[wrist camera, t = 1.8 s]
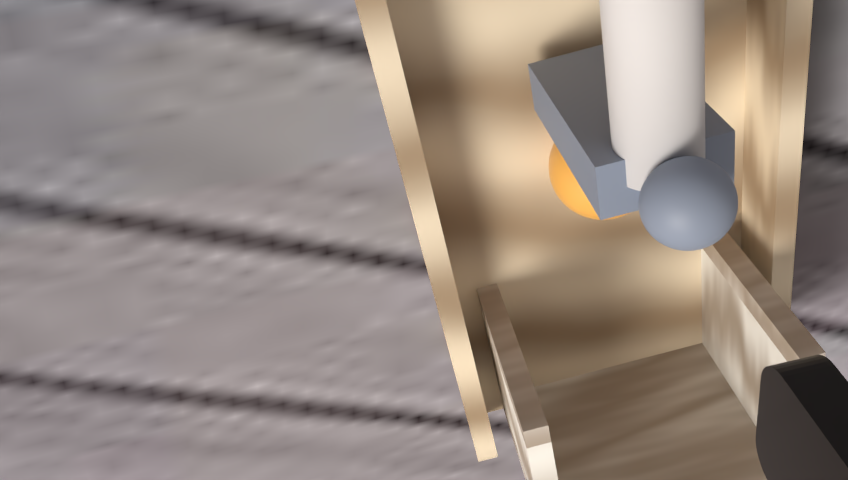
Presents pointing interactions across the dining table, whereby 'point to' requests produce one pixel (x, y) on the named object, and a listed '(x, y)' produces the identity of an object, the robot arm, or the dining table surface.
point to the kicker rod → (644, 122)
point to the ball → (569, 187)
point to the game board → (595, 242)
